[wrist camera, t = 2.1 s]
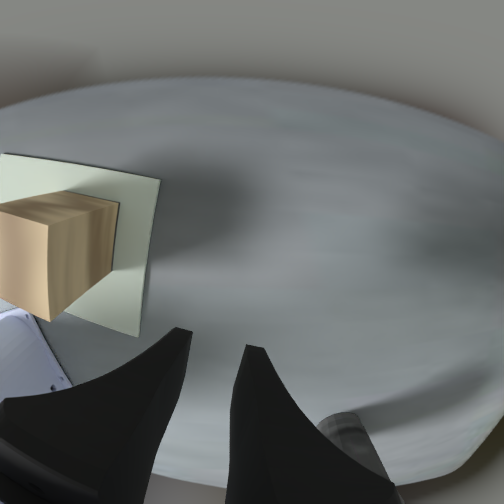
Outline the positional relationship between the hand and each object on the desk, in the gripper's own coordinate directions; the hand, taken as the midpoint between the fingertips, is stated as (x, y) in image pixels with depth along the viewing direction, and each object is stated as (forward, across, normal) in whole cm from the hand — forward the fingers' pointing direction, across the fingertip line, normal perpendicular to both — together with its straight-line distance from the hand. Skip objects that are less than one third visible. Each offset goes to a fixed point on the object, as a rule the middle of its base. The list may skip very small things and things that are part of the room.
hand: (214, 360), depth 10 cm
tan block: (+10, +11, 0) cm, 15 cm away
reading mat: (+10, +14, +2) cm, 18 cm away
